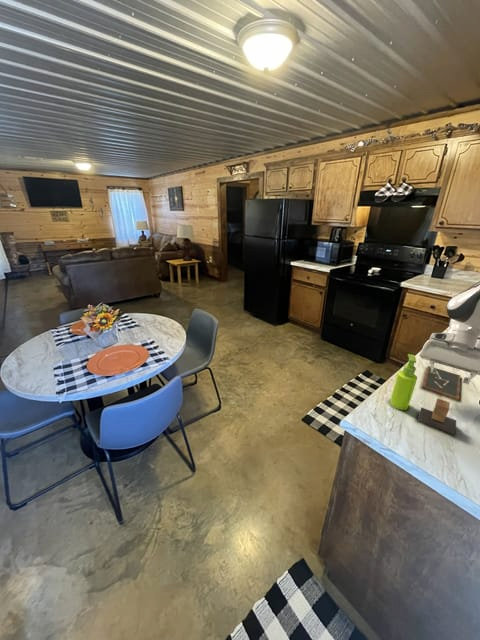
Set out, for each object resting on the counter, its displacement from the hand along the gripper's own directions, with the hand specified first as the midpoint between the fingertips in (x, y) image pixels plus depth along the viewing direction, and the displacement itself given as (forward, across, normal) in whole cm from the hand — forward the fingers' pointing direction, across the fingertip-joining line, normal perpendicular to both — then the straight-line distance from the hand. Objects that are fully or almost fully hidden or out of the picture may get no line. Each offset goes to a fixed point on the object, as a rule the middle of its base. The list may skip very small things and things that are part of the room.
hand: (448, 377), depth 92 cm
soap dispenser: (+14, +12, -5) cm, 19 cm away
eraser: (+16, 0, -2) cm, 17 cm away
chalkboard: (-5, 0, -23) cm, 24 cm away
